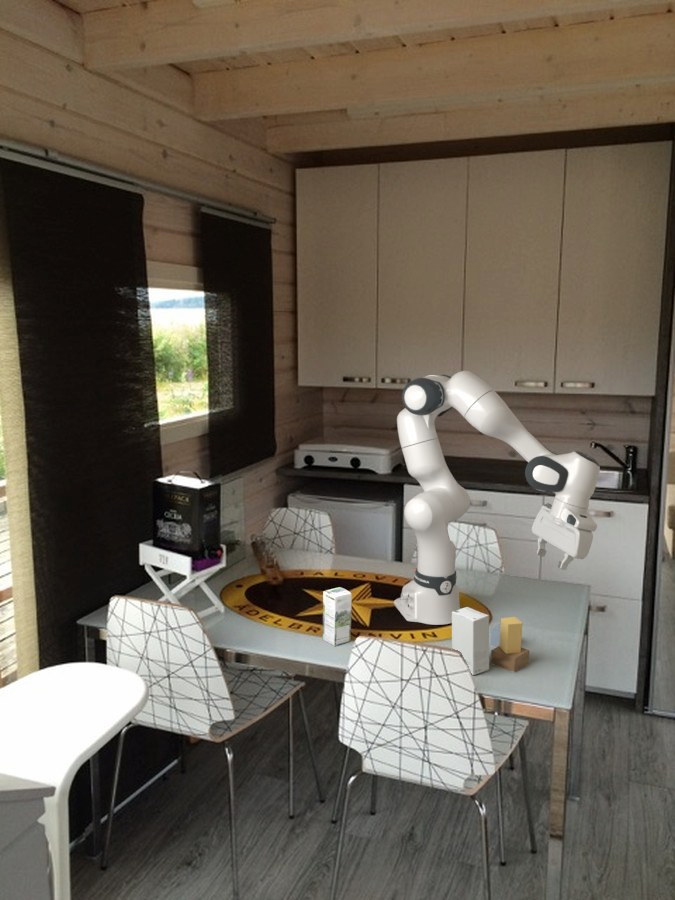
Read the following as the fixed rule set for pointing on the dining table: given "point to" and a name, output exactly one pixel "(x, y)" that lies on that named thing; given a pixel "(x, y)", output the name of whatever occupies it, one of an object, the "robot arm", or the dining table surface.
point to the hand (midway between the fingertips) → (550, 562)
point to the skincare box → (471, 638)
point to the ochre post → (510, 635)
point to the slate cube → (495, 635)
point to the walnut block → (510, 659)
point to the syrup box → (337, 616)
